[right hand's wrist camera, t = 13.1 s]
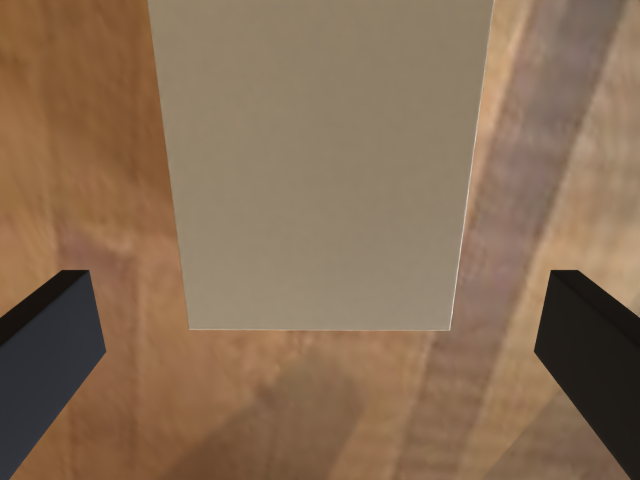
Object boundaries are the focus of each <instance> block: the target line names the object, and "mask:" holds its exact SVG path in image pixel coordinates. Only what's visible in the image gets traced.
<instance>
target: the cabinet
mask: <svg viewBox="0 0 640 480" xmlns="http://www.w3.org/2000/svg"><path fill="white" fill-rule="evenodd" d="M147 3H148V11H149V18H150V26H151V34H152V42H153V50H154V58H155V66H156V74H157V81H158V89H159V97H160V105H161V113H162V121H163V129H164V137H165V144H166V152H167V160H168V168H169V176H170V184H171V192H172V199H173V207H174V215H175V223H176V231H177V239H178V247H179V255H180V262H181V270H182V278H183V286H184V294H185V302H186V310H187V318H188V325H189V330H446V331H449V330H450V326H451V318H452V311H453V303H454V296H455V288H456V281H457V274H458V266H459V259H460V251H461V244H462V236H463V229H464V221H465V214H466V207H467V199H468V192H469V184H470V177H471V169H472V162H473V155H474V147H475V140H476V132H477V125H478V117H479V110H480V102H481V95H482V88H483V80H484V73H485V65H486V58H487V50H488V43H489V35H490V28H491V21H492V13H493V6H494V0H147Z"/></svg>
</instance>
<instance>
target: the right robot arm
mask: <svg viewBox="0 0 640 480" xmlns="http://www.w3.org/2000/svg"><path fill="white" fill-rule="evenodd" d="M105 352H106V348H105V344H104V339H103V334H102V329H101V325H100V320H99V315H98V310H97V306H96V301H95V296H94V291H93V287H92V282H91V277H90V272H89V270H62V271H60V272H59V273H58V274H56V275H55V276H54V277H52V278H51V279H50V280H49V281H47V282H46V283H45V284H43V285H42V286H41V287H40V288H38V289H37V290H36V291H34V292H33V293H32V294H31V295H29V296H28V297H27V298H25V299H24V300H23V301H21V302H20V303H19V304H18V305H16V306H15V307H14V308H12V309H11V310H10V311H9V312H7V313H6V314H5V315H3V316H2V317H1V318H0V480H9V479H10V477H11V476H12V475H13V473H14V472H15V471H16V470H17V468H18V467H19V466H20V464H21V463H22V462H23V460H24V459H25V458H26V456H27V455H28V454H29V452H30V451H31V450H32V449H33V447H34V446H35V445H36V443H37V442H38V441H39V439H40V438H41V437H42V435H43V434H44V433H45V431H46V430H47V429H48V427H49V426H50V425H51V424H52V422H53V421H54V420H55V418H56V417H57V416H58V414H59V413H60V412H61V410H62V409H63V408H64V406H65V405H66V404H67V402H68V401H69V400H70V399H71V397H72V396H73V395H74V393H75V392H76V391H77V389H78V388H79V387H80V385H81V384H82V383H83V381H84V380H85V379H86V377H87V376H88V375H89V374H90V372H91V371H92V370H93V368H94V367H95V366H96V364H97V363H98V362H99V360H100V359H101V358H102V356H103V355H104V354H105ZM534 352H535V354H536V355H537V356H538V358H539V359H540V360H541V362H542V363H543V364H544V366H545V367H546V368H547V370H548V371H549V372H550V374H551V375H552V376H553V377H554V379H555V380H556V381H557V383H558V384H559V385H560V387H561V388H562V389H563V391H564V392H565V393H566V395H567V396H568V397H569V399H570V400H571V401H572V402H573V404H574V405H575V406H576V408H577V409H578V410H579V412H580V413H581V414H582V416H583V417H584V418H585V420H586V421H587V422H588V424H589V425H590V426H591V427H592V429H593V430H594V431H595V433H596V434H597V435H598V437H599V438H600V439H601V441H602V442H603V443H604V445H605V446H606V447H607V449H608V450H609V451H610V452H611V454H612V455H613V456H614V458H615V459H616V460H617V462H618V463H619V464H620V466H621V467H622V468H623V470H624V471H625V472H626V473H627V475H628V476H629V477H630V479H631V480H640V318H639V317H638V316H637V315H635V314H634V313H633V312H631V311H630V310H629V309H628V308H626V307H625V306H624V305H622V304H621V303H620V302H619V301H617V300H616V299H615V298H613V297H612V296H611V295H609V294H608V293H607V292H606V291H604V290H603V289H602V288H600V287H599V286H598V285H597V284H595V283H594V282H593V281H591V280H590V279H589V278H588V277H586V276H585V275H584V274H582V273H581V272H580V271H578V270H551V272H550V277H549V282H548V287H547V291H546V296H545V301H544V306H543V310H542V315H541V320H540V325H539V329H538V334H537V339H536V344H535V348H534Z"/></svg>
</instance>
